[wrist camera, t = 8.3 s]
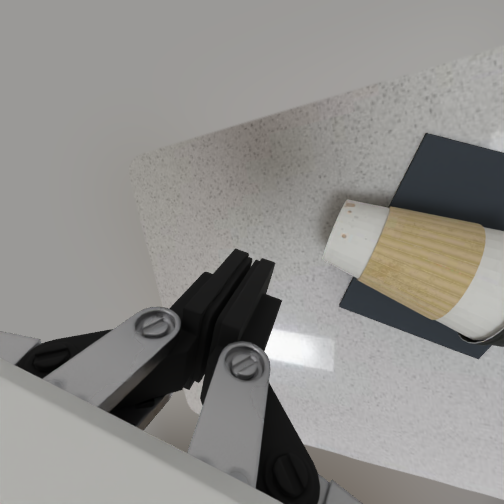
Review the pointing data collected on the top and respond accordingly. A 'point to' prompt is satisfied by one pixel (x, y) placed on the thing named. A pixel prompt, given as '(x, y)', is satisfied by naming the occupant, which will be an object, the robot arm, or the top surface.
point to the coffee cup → (426, 265)
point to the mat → (446, 205)
